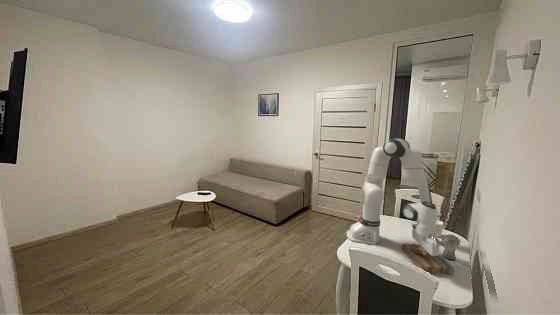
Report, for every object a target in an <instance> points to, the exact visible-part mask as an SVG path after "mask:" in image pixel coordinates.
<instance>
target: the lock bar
mask: <svg viewBox="0 0 560 315" xmlns="http://www.w3.org/2000/svg"><path fill="white" fill-rule="evenodd" d="M412 251H413V253H414V254H422V253H421V248H415V247H413V250H412ZM427 255H430V254H429V253H428V252H427Z"/></svg>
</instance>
